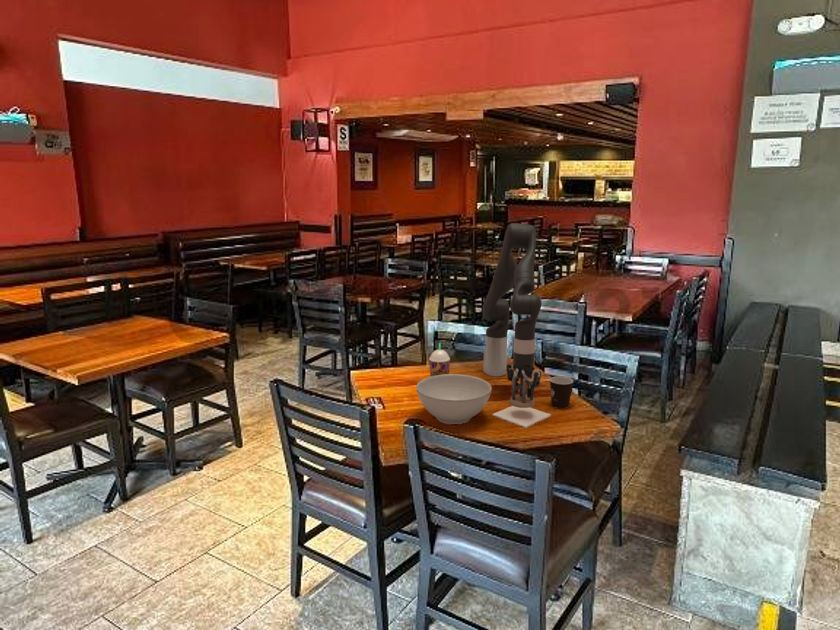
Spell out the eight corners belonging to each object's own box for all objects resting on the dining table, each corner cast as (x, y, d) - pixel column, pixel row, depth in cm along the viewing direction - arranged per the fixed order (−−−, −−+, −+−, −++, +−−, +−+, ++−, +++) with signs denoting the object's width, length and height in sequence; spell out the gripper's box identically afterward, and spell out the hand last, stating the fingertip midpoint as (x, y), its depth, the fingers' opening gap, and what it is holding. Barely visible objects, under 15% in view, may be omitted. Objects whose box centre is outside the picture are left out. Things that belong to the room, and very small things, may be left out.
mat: (492, 415, 217) (492, 414, 217) (517, 404, 227) (517, 403, 227) (525, 428, 206) (525, 426, 206) (551, 416, 216) (551, 414, 216)
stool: (520, 396, 221) (520, 372, 219) (540, 403, 215) (541, 378, 213) (504, 403, 215) (505, 378, 213) (524, 409, 209) (525, 384, 207)
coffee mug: (572, 410, 221) (573, 384, 219) (548, 408, 223) (549, 383, 221) (571, 399, 232) (572, 374, 230) (548, 397, 234) (549, 373, 232)
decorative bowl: (472, 400, 232) (473, 370, 229) (503, 427, 207) (504, 394, 204) (407, 409, 223) (406, 378, 221) (431, 438, 199) (431, 404, 196)
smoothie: (439, 395, 236) (439, 347, 232) (425, 390, 242) (424, 343, 238) (454, 390, 242) (454, 343, 237) (440, 385, 248) (440, 339, 243)
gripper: (547, 352, 208) (545, 397, 212) (514, 344, 218) (513, 387, 222) (534, 356, 203) (532, 403, 207) (501, 348, 213) (500, 392, 217)
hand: (522, 394), depth 215 cm, fingers closed on stool, 5 cm apart
